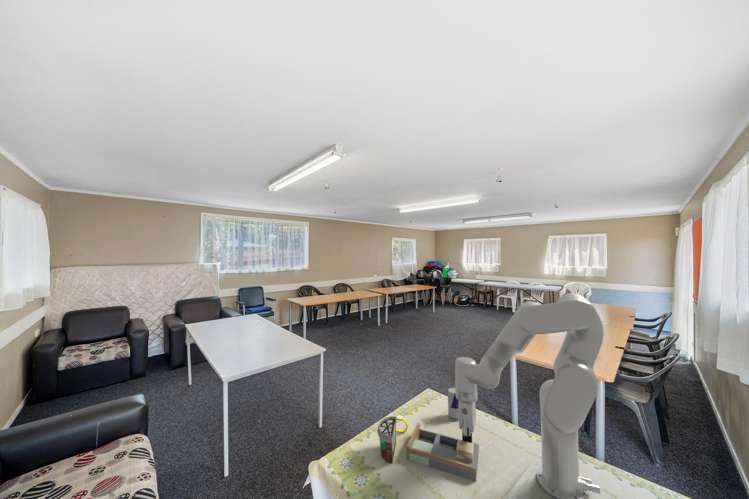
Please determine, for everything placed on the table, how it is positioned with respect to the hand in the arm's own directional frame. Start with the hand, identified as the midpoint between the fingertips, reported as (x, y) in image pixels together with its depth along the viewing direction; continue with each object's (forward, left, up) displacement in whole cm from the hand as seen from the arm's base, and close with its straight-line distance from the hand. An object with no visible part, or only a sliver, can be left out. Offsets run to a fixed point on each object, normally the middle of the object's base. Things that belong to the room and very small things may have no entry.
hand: (467, 444), depth 96 cm
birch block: (0, +4, -1) cm, 4 cm away
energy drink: (+7, -20, -4) cm, 21 cm away
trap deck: (+8, +4, -3) cm, 10 cm away
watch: (+26, -2, -4) cm, 27 cm away
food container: (+27, +11, -4) cm, 30 cm away
